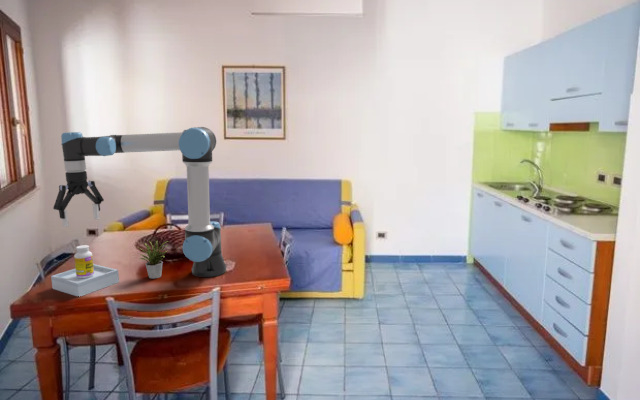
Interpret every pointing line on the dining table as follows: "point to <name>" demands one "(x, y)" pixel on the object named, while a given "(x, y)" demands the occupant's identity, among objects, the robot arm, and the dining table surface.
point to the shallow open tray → (85, 281)
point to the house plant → (154, 260)
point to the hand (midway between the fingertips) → (81, 222)
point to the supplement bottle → (84, 262)
